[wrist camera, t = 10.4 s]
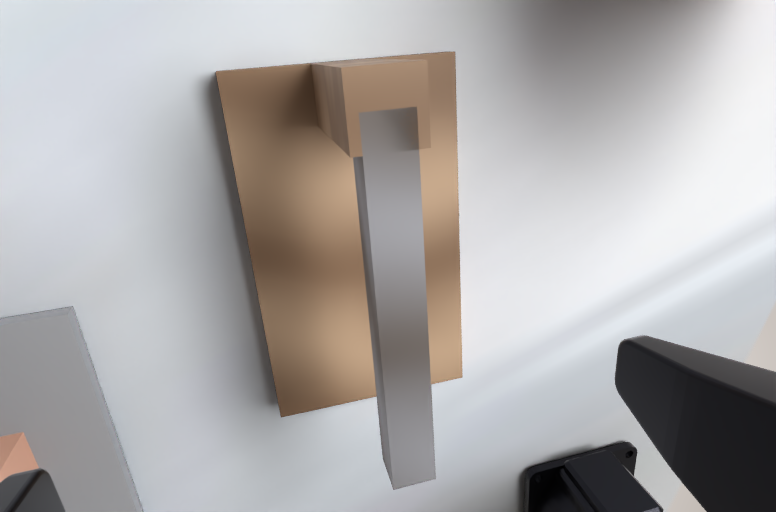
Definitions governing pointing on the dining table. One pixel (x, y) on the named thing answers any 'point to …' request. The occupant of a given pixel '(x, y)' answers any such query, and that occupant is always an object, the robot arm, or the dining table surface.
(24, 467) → the u-shaped block
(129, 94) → the dining table surface
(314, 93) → the stand
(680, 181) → the dining table surface
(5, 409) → the coaster
